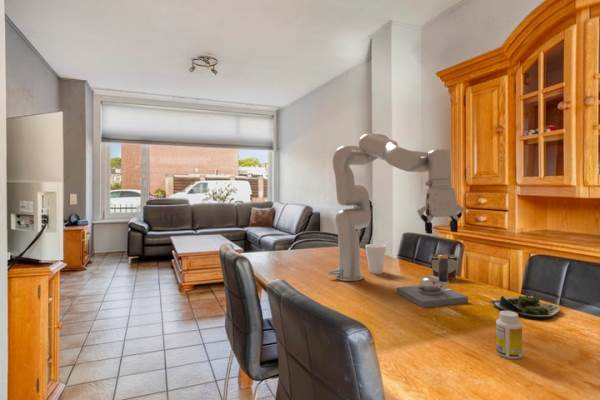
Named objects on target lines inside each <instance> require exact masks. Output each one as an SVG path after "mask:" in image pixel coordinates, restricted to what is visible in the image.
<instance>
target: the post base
mask: <svg viewBox="0 0 600 400" xmlns="http://www.w3.org/2000/svg"><path fill="white" fill-rule="evenodd" d="M418 287H420V284H419V285H409V286H401V287H396V288H395V289H396V290H395V291H396V293H397V294H398V295H400V296H402V297H403V298H405V299H406V300H408V301H410V302H412V303H414V304H415V305H417V306H419V307H421V308H429V307H430V308H431V307H437V306H447V305H456V304H464V303H469V296H468V295H464V294H463V293H460V292H458V291H455V290H453V289H451V288H449V287H446V286H445V285H442V288H440V291H438V292H427V291H423V290H420V289H418Z"/></svg>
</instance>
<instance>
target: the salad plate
mask: <svg viewBox="0 0 600 400" xmlns="http://www.w3.org/2000/svg"><path fill="white" fill-rule="evenodd" d="M489 303H490V304H492V305H493V306H495V308H496V309H497V310H498V311H499V312H500V311H512V312H515V313H517V314H518V318H522V319H528V320H536V321H543V320H544V321H545V320H546V321H547V320H550V319H552V318H554V317H555V316H556V315H558V314H559V312H560V311H561V308H560V307H559V306H557V305H554V304H551V303H543V302H540V298H539V297H536V296H535V297H534V296H533V295H530V296H528V295H522V296H521V295H519V296H518V297H506V296H504V295H501V297H500V300H498V299H496V300H490V301H489Z"/></svg>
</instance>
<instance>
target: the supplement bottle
mask: <svg viewBox="0 0 600 400" xmlns="http://www.w3.org/2000/svg"><path fill="white" fill-rule="evenodd" d="M498 317H499V318H497V319H496V320H495V347H496V348H495V349H496V350H495V351H496V353H497V354H498V355H499V356H501V357H502V358H506V359H510V360H511V359H512V360H519V359H521V358H522V357H523V324H522V321H519V317H518V314H517V313H515V312H512V311H500V310H499V316H498Z"/></svg>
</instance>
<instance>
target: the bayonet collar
mask: <svg viewBox="0 0 600 400" xmlns="http://www.w3.org/2000/svg"><path fill="white" fill-rule="evenodd" d="M419 280H420V281H419V283H420V284H419V285H420V287H418V289H420V290H423V291H427V292H438V291H440V288H442V286H450V282H449V279H448V256H447V255H439V278H438V277H436V276H433V274H432V275H431V274H429V275H427V276H425V275H424V276H421V277H420V278H419Z"/></svg>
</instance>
